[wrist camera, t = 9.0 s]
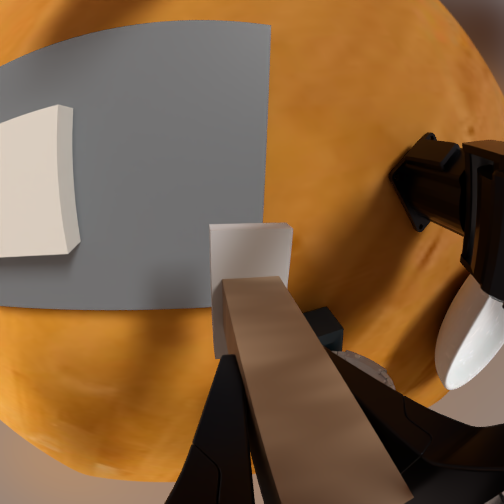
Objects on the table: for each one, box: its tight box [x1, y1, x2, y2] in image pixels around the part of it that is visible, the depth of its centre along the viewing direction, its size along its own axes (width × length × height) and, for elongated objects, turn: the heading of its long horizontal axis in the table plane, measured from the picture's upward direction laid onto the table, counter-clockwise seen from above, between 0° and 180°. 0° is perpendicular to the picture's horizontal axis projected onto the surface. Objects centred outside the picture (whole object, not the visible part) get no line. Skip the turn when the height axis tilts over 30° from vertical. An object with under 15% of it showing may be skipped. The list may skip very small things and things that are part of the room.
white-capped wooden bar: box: [209, 223, 414, 504], centre depth 7 cm, size 3×6×10 cm, turn 178°
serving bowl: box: [435, 274, 504, 390], centre depth 25 cm, size 21×21×7 cm
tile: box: [0, 105, 81, 257], centre depth 11 cm, size 2×8×9 cm
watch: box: [303, 306, 395, 390], centre depth 17 cm, size 6×8×11 cm
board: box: [0, 20, 271, 310], centre depth 13 cm, size 22×18×2 cm
